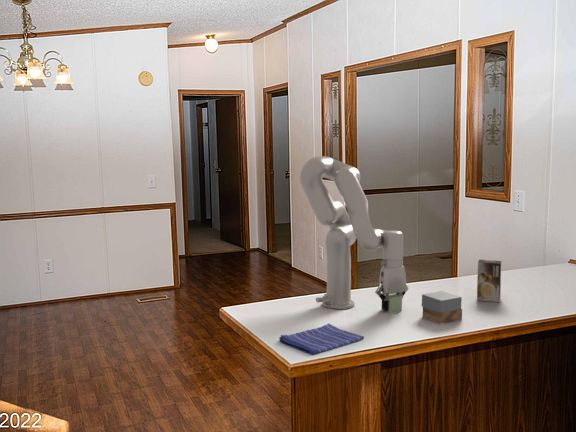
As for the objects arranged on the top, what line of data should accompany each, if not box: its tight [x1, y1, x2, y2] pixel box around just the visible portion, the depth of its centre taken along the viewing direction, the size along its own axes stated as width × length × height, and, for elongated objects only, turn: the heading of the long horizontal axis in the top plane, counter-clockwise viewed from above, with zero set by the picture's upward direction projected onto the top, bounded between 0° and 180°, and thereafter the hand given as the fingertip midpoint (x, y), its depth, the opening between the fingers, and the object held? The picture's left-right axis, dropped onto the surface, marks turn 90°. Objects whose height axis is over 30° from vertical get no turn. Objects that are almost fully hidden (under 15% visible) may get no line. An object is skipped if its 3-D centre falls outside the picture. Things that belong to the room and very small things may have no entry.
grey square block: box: [421, 290, 463, 313], centre depth 227 cm, size 10×10×4 cm
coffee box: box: [476, 259, 502, 303], centre depth 253 cm, size 9×6×16 cm
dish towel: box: [278, 323, 365, 356], centre depth 203 cm, size 17×24×3 cm
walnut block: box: [422, 306, 463, 325], centre depth 228 cm, size 10×10×4 cm
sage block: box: [381, 293, 403, 314], centre depth 238 cm, size 6×6×6 cm
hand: (391, 308), depth 238 cm, fingers closed on sage block, 5 cm apart
